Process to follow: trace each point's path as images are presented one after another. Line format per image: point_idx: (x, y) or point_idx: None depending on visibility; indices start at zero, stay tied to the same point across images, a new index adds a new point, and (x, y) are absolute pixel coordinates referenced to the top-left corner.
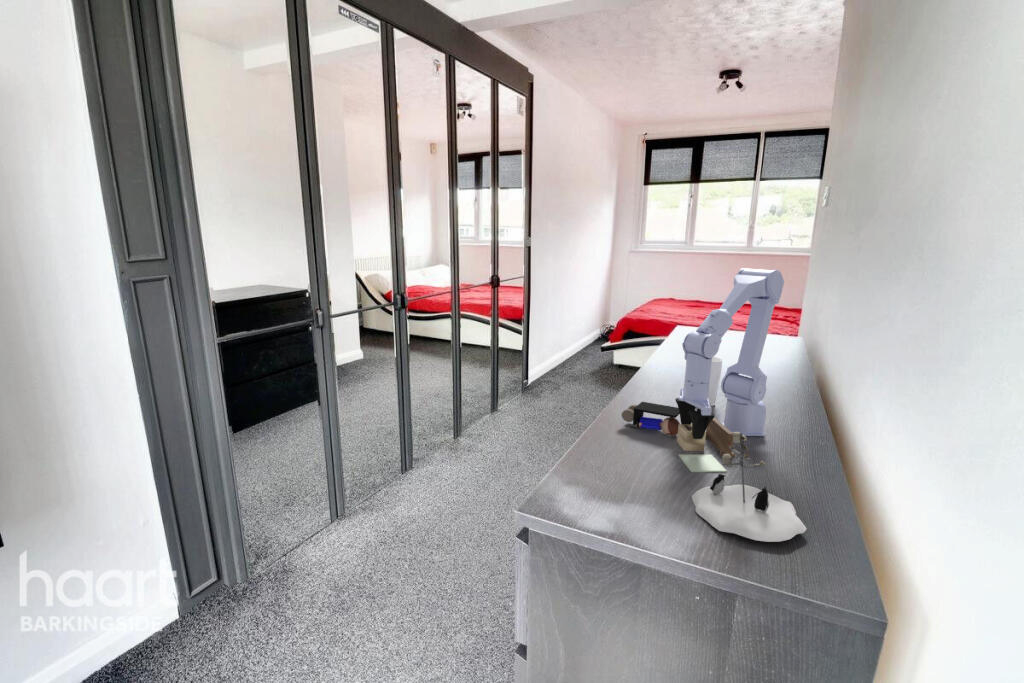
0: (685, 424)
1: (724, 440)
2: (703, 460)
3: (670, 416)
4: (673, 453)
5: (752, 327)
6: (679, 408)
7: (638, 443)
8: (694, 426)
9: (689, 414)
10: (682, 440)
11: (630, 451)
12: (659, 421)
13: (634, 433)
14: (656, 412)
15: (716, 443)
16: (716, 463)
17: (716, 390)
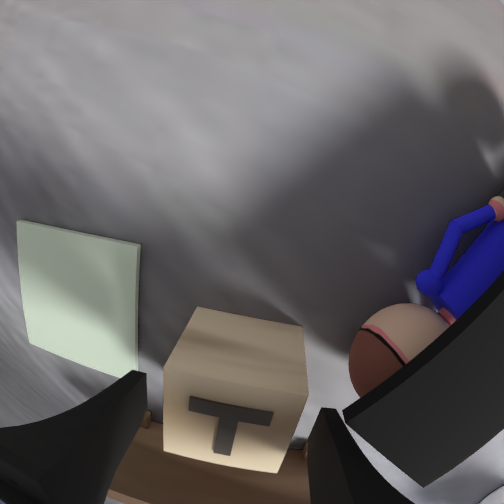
0: (292, 426)
1: (140, 463)
2: (84, 321)
3: (377, 389)
4: (170, 234)
5: None
6: (366, 490)
7: (326, 94)
8: (73, 409)
9: (318, 494)
10: (224, 335)
11: (230, 13)
12: (458, 317)
13: (455, 148)
14: (482, 309)
15: None
16: (68, 349)
17: None
